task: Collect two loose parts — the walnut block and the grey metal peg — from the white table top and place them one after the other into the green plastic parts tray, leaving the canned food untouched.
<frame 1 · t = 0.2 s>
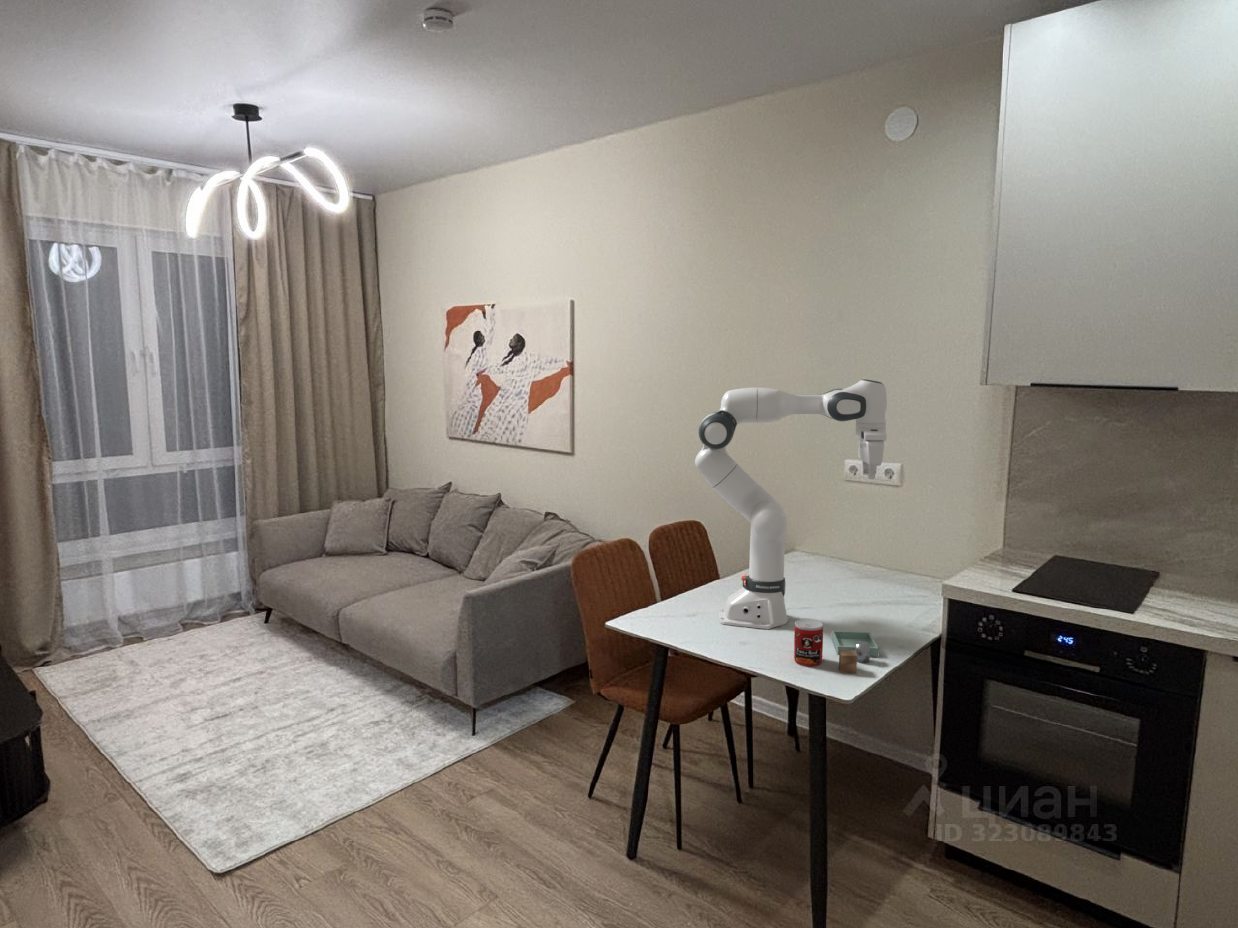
hand: (868, 476, 234), 48 cm above the table, tool pointing down, fingers open, 8 cm apart
canned food: (807, 662, 210), on the table
parts tray: (854, 647, 220), on the table
metal peg: (861, 660, 210), on the table
walnut block: (847, 670, 204), on the table
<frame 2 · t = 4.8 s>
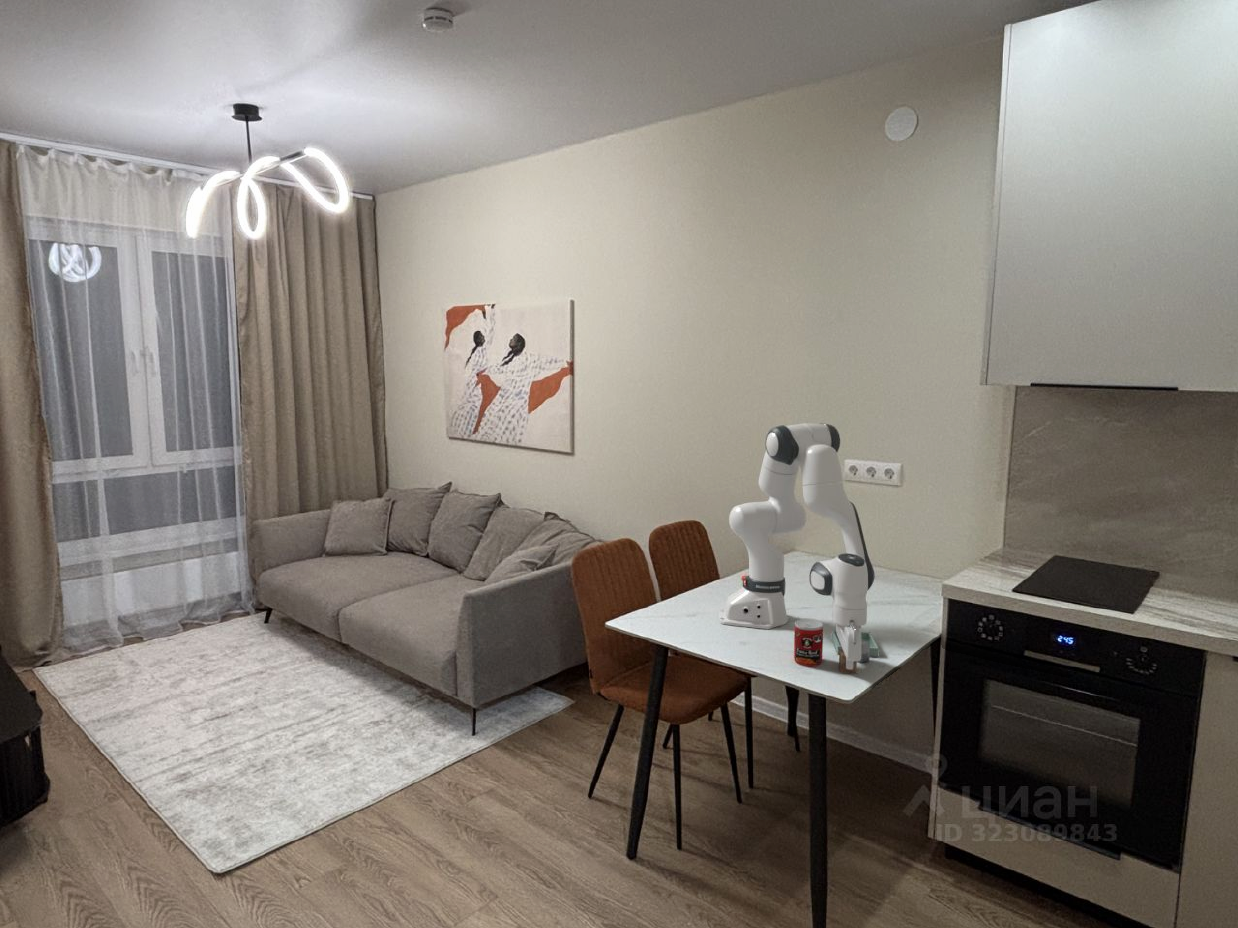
hand: (847, 664, 204), 2 cm above the table, tool pointing down, fingers closed on walnut block, 4 cm apart
walnut block: (847, 670, 204), on the table, touching gripper
everything else where it was.
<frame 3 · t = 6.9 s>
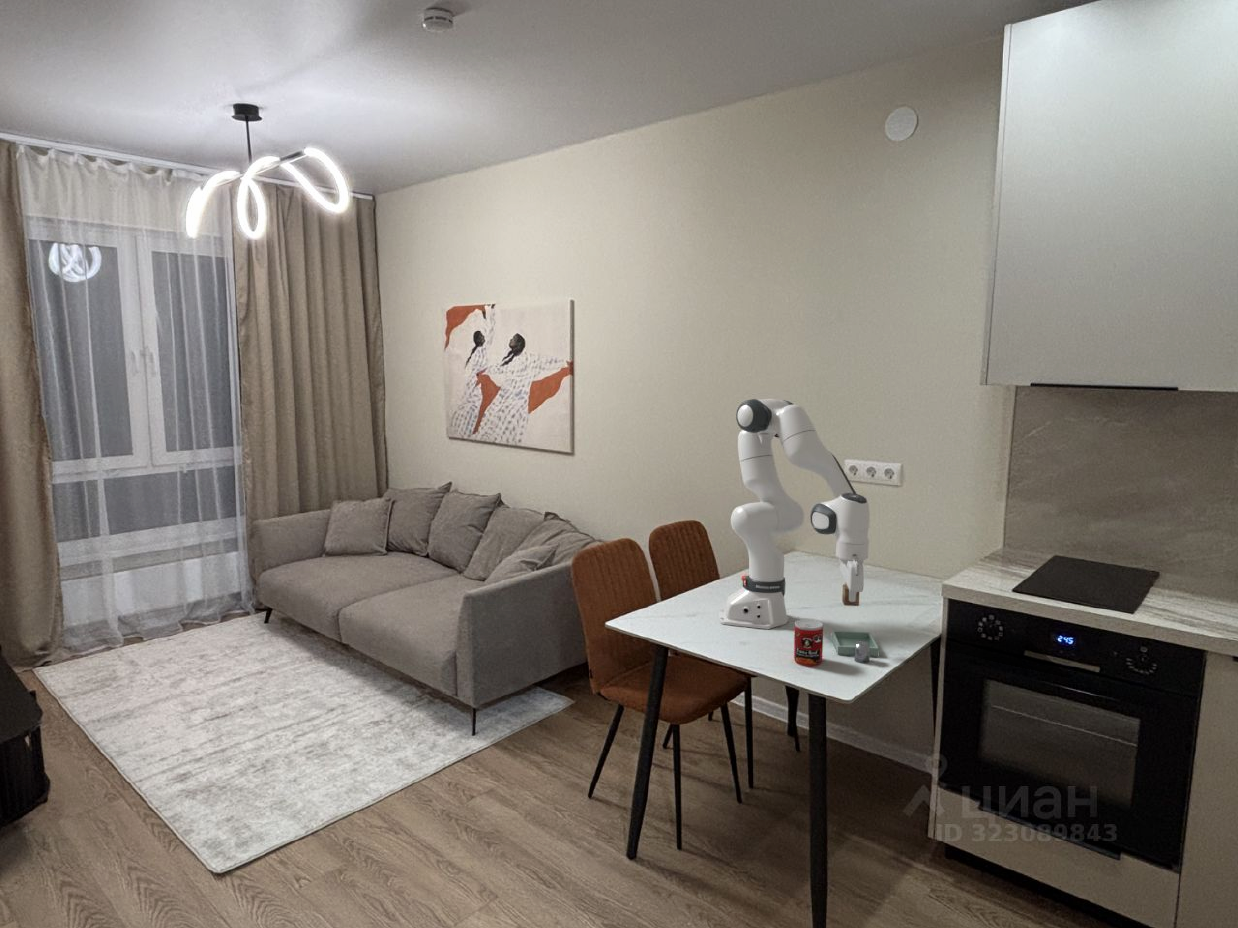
hand: (850, 598, 216), 16 cm above the table, tool pointing down, fingers closed on walnut block, 4 cm apart
walnut block: (850, 603, 216), point 14 cm above the table, touching gripper
everything else where it was.
when the fingers open (4 cm above the table, at t = 9.0 s): walnut block drops 2 cm, resting on parts tray.
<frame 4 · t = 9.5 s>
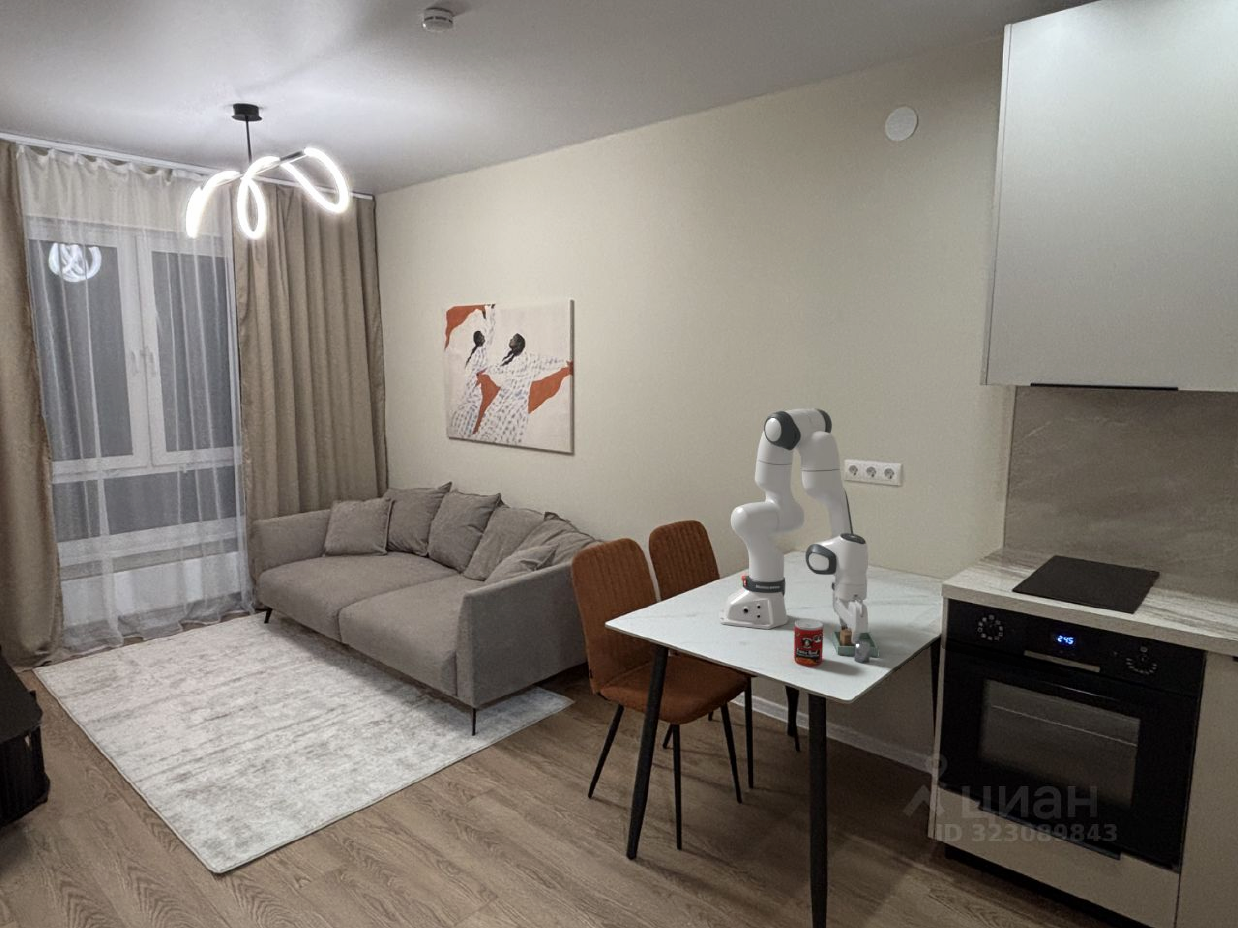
hand: (849, 637, 217), 4 cm above the table, tool pointing down, fingers open, 8 cm apart
metal peg: (861, 660, 210), on the table, touching gripper
walnut block: (848, 649, 218), resting on parts tray
everything else where it was.
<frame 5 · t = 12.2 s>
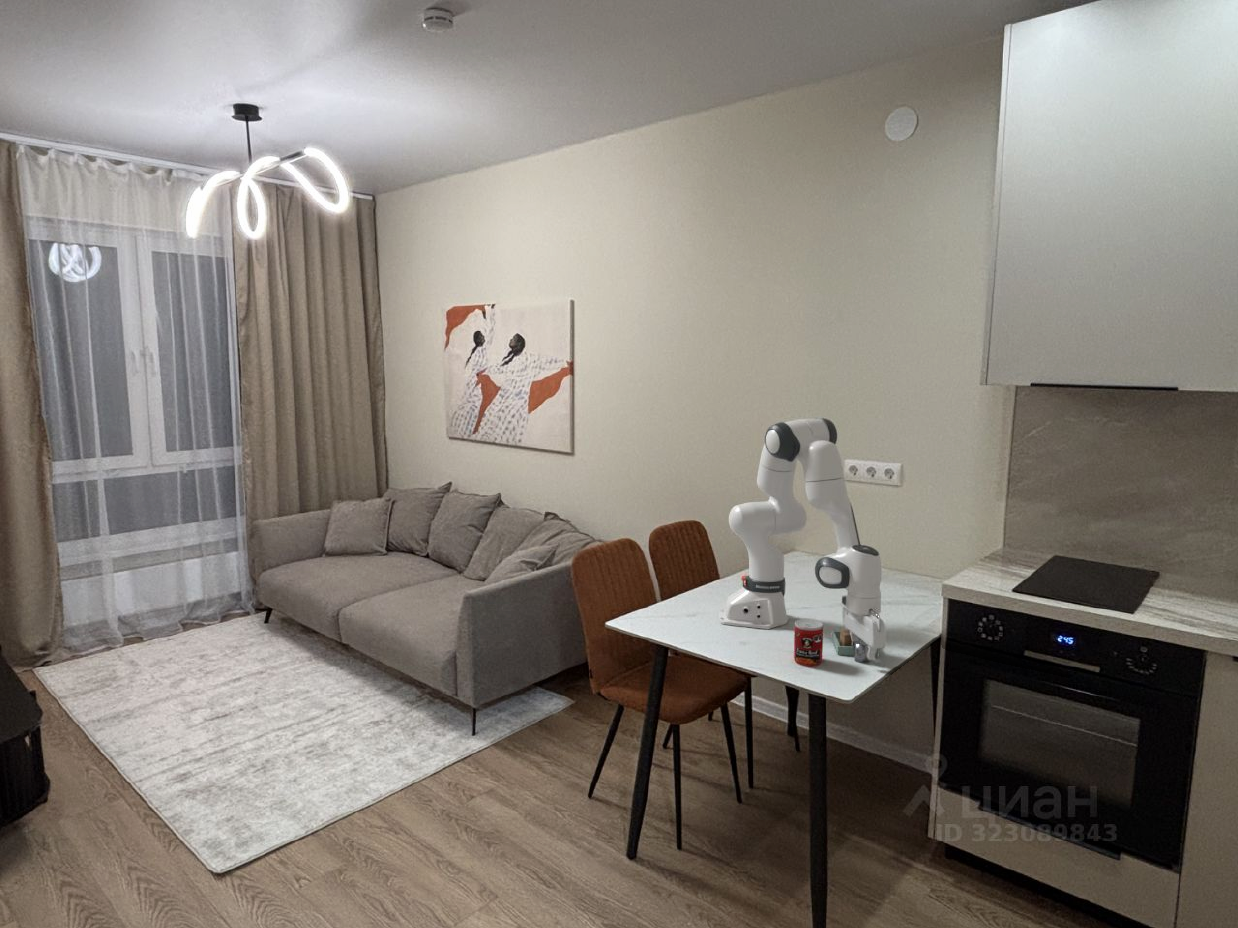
hand: (862, 652, 209), 3 cm above the table, tool pointing down, fingers open, 8 cm apart
metal peg: (861, 660, 210), on the table
walnut block: (848, 649, 218), resting on parts tray, touching gripper
everything else where it was.
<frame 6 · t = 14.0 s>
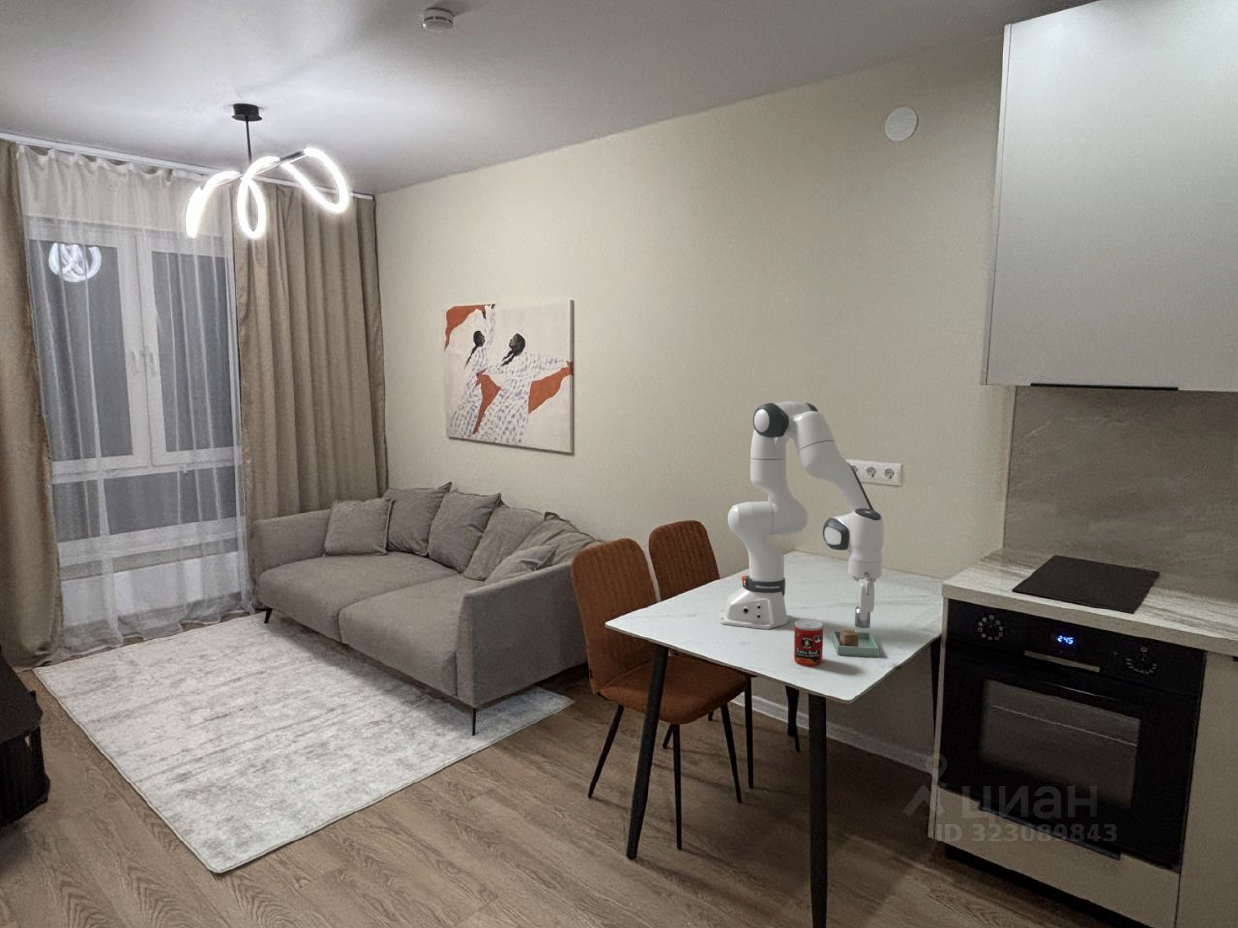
hand: (862, 616, 209), 13 cm above the table, tool pointing down, fingers closed on metal peg, 4 cm apart
metal peg: (862, 625, 210), point 10 cm above the table, touching gripper
walnut block: (848, 649, 218), resting on parts tray
everything else where it was.
when the fingers open (4 cm above the table, at t = 17.1 s): metal peg stays where it is, resting on parts tray.
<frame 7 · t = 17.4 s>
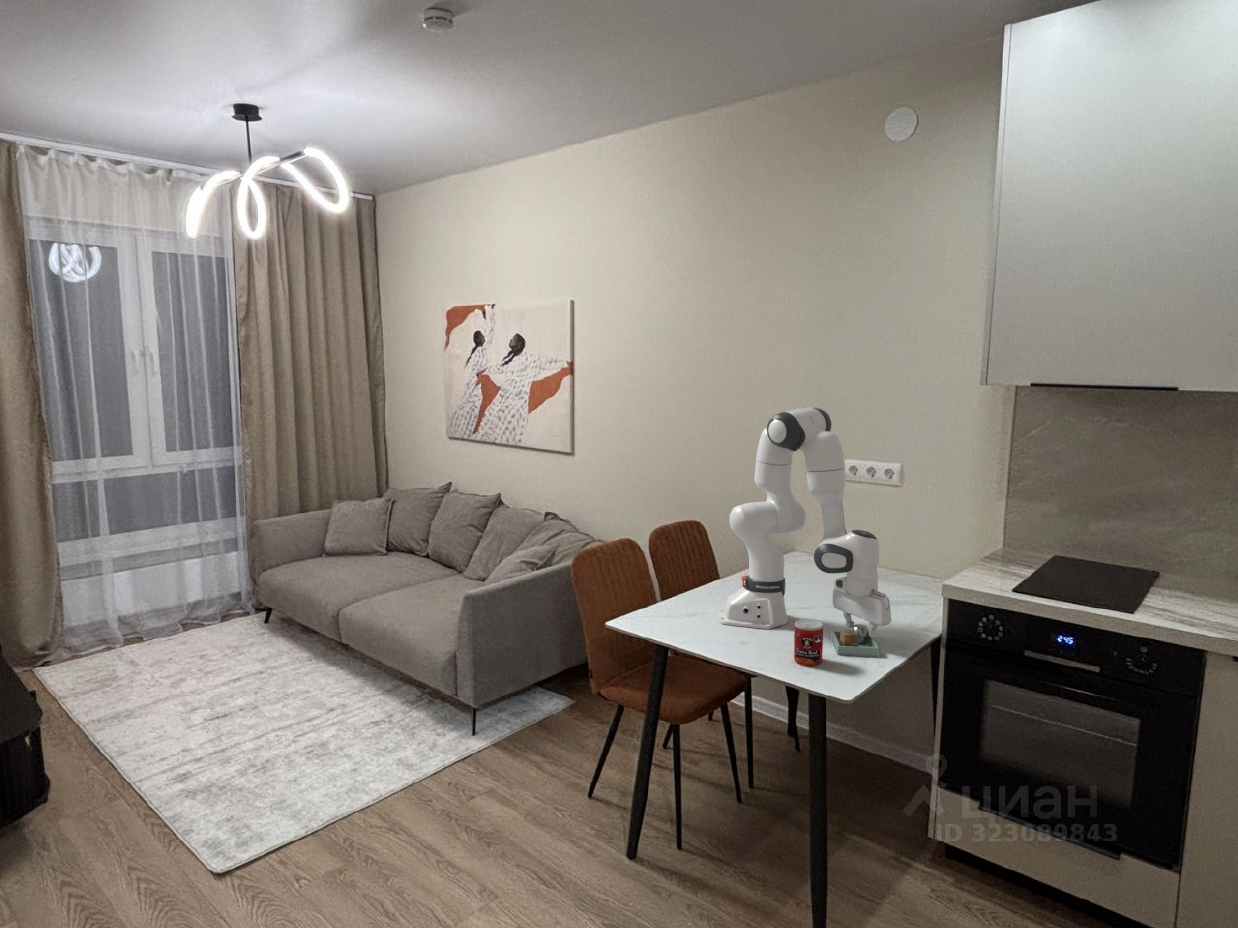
hand: (860, 631, 222), 4 cm above the table, tool pointing down, fingers open, 7 cm apart
metal peg: (859, 642, 223), point 1 cm above the table, touching parts tray
everything else where it was.
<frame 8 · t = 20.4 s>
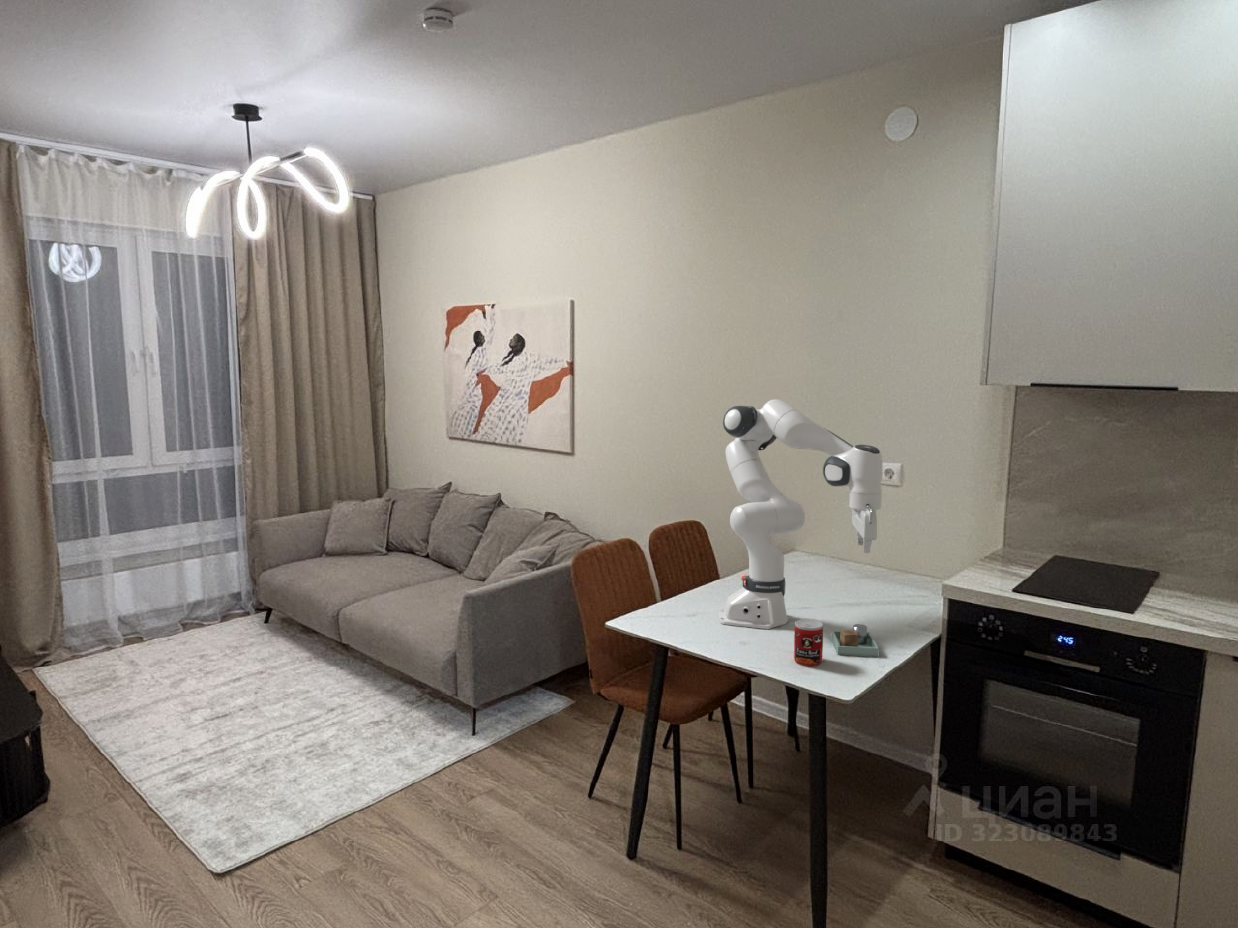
hand: (863, 548, 219), 29 cm above the table, tool pointing down, fingers open, 8 cm apart
nothing on the table moved.
at the end: walnut block inside the target area on the parts tray (3.5 cm from its centre), point 0.5 cm above the parts tray's base; metal peg inside the target area on the parts tray (3.4 cm from its centre), point 0.5 cm above the parts tray's base; metal peg tilted 0° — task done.
